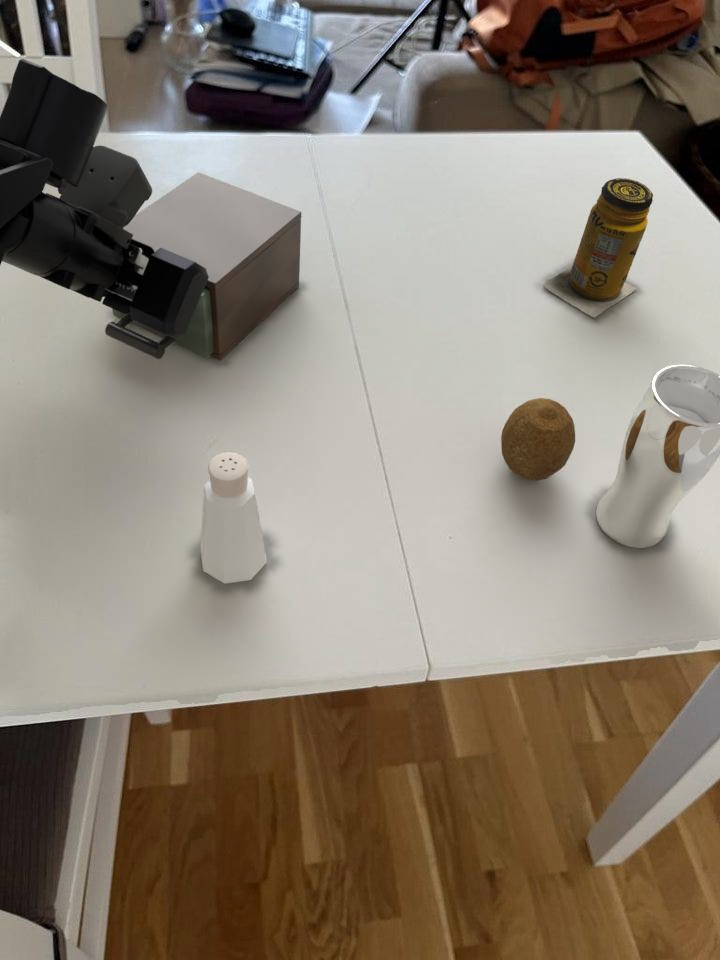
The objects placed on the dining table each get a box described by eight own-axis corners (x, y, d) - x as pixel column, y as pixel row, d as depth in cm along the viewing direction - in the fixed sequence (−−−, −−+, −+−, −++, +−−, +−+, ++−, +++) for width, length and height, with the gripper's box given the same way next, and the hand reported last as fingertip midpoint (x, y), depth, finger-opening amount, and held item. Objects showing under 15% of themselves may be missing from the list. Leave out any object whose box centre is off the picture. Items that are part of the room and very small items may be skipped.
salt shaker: (258, 591, 64) (256, 501, 56) (190, 578, 64) (178, 487, 56) (274, 536, 68) (275, 443, 59) (210, 524, 68) (201, 430, 60)
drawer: (181, 382, 77) (174, 319, 72) (85, 337, 80) (72, 273, 75) (283, 288, 88) (284, 228, 82) (195, 252, 91) (190, 191, 85)
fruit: (519, 506, 72) (542, 442, 66) (479, 457, 75) (497, 393, 69) (575, 483, 74) (602, 420, 68) (533, 437, 78) (556, 373, 72)
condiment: (636, 290, 94) (674, 193, 85) (593, 319, 90) (629, 221, 81) (584, 260, 98) (616, 164, 89) (540, 287, 93) (569, 189, 84)
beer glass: (677, 507, 73) (751, 381, 62) (662, 565, 69) (738, 441, 58) (601, 479, 75) (659, 351, 63) (581, 533, 70) (640, 406, 59)
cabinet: (220, 361, 81) (215, 283, 74) (117, 314, 84) (104, 236, 77) (299, 287, 90) (301, 211, 83) (203, 247, 93) (198, 171, 86)
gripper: (186, 173, 58) (270, 240, 73) (-14, 95, 63) (104, 173, 78) (126, 319, 59) (221, 356, 74) (-66, 232, 64) (60, 283, 79)
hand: (151, 288), depth 77 cm, fingers closed, pressing on drawer
